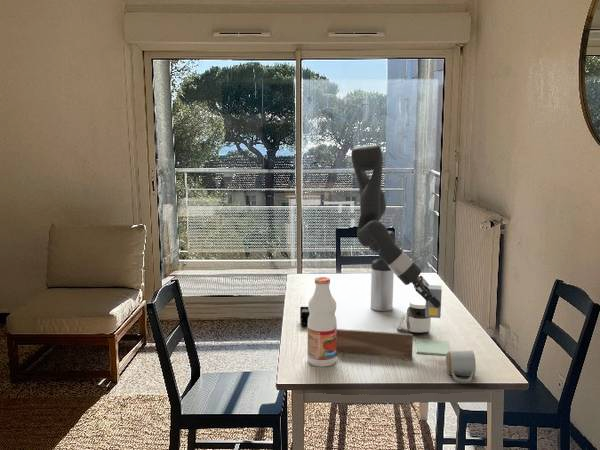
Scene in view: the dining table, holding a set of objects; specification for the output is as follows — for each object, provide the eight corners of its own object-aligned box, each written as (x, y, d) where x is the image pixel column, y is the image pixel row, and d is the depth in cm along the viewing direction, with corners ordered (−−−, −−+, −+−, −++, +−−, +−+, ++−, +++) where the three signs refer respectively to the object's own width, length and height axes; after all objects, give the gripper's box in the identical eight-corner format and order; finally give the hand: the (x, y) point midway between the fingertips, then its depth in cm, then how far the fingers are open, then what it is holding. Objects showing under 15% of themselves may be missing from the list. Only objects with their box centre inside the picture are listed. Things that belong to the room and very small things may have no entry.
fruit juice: (313, 354, 196) (313, 273, 191) (339, 358, 193) (341, 276, 188) (303, 364, 188) (303, 280, 183) (330, 369, 184) (331, 283, 179)
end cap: (325, 321, 229) (326, 304, 228) (325, 327, 222) (326, 310, 221) (300, 321, 229) (300, 304, 228) (299, 327, 222) (299, 310, 221)
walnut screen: (335, 348, 201) (335, 326, 199) (412, 354, 196) (412, 332, 194) (333, 354, 196) (333, 331, 194) (411, 360, 191) (412, 337, 190)
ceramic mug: (444, 368, 185) (445, 346, 183) (471, 369, 184) (472, 346, 182) (450, 384, 174) (451, 360, 173) (477, 385, 173) (479, 361, 172)
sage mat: (416, 340, 208) (416, 338, 208) (448, 342, 206) (448, 341, 206) (416, 353, 197) (416, 351, 197) (449, 355, 195) (450, 354, 195)
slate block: (425, 312, 202) (426, 284, 201) (439, 313, 201) (441, 285, 200) (425, 317, 197) (426, 288, 196) (440, 318, 196) (441, 289, 195)
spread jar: (432, 336, 213) (434, 306, 211) (403, 338, 211) (404, 307, 209) (420, 325, 224) (422, 296, 222) (392, 327, 222) (393, 297, 220)
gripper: (412, 265, 191) (448, 303, 191) (412, 256, 205) (446, 291, 204) (395, 280, 193) (431, 317, 193) (397, 270, 207) (430, 304, 206)
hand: (438, 303), depth 198 cm, fingers closed on slate block, 5 cm apart
